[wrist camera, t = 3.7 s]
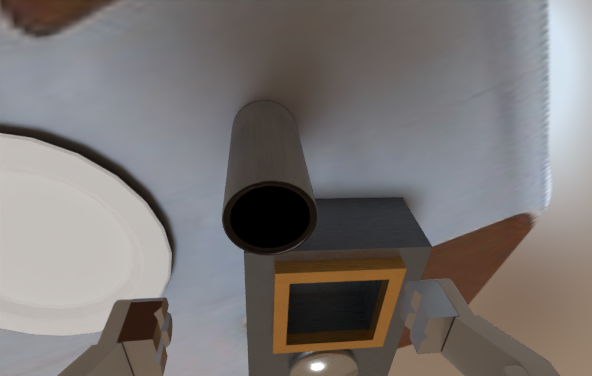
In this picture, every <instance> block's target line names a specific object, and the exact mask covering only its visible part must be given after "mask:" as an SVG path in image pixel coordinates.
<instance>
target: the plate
mask: <svg viewBox="0 0 592 376" xmlns="http://www.w3.org/2000/svg"><path fill="white" fill-rule="evenodd" d="M171 263H172V250H171V247H170V243H169V240H168V237H167V234H166V230H165V227H164V225H163V224H162V223H161V221H160V220H159V218H158V217H157V215H156V214H155V212H154V211H153V209H152V208H151V206H150V205H149V204H148V202H147V201H146V200H145V199H144V198H143V197H142V196H141V195H140V194H139V193H138V192H136V191H135V190H134V189H133V188H132V187H131V186H130V185H129V184H127V183H126V182H125V181H124V180H123V179H122V178H121V177H120V176H118V175H117V174H115V173H114V172H112V171H110V170H109V169H107V168H105V167H103V166H102V165H100V164H98V163H96V162H95V161H93V160H91V159H89V158H88V157H86V156H84V155H82V154H81V153H79V152H76V151H73V150H70V149H67V148H64V147H62V146H59V145H56V144H53V143H50V142H47V141H44V140H41V139H39V138H36V137H32V136H25V135H18V134H11V133H4V132H0V328H2V329H8V330H13V331H19V332H24V333H30V334H40V335H63V336H67V335H76V334H86V333H95V332H99V331H102V330H103V329H104V327H105V324H106V322H107V319H108V317H109V314H110V312H111V310H112V307H113V305H114V303H115V302H116V301H117V300H123V299H141V298H160V297H161V296H162V293H163V291H164V289H165V287H166V285H167V283H168V281H169V279H170V277H171Z"/></svg>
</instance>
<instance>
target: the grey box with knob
mask: <svg viewBox="0 0 592 376" xmlns="http://www.w3.org/2000/svg"><path fill="white" fill-rule="evenodd" d="M315 202H316V206H317V212H318V220H317V225H316V228H315V230H314V232H313V233H312V235H311V236H310V238H309V239H308V240H307V241H306V242H305V243H304V244H302V245H301V246H299V247H298V248H296V249H294V250H292V251H290V252H287V253H284V254H279V255H271V256H266V255H257V254H253V253H250V252H247V251H245V250H244V263H245V289H246V314H247V340H248V365H249V376H387V375H388V373H389V370H390V367H391V364H392V361H393V358H394V355H395V353H396V350H397V347H398V344H399V341H400V338H401V335H402V332H403V329H404V327H405V325H404V322H403V320H402V317H401V313H400V302H401V298H402V297H403V296H404V295H405V294H406V293H405V291H404V286H405V284H406V282H407V281H419V280H421V278H422V275H423V272H424V269H425V266H426V263H427V260H428V257H429V255H430V252H431V249H432V246H431V244H430V242H429V241H428V239H427V237H426V236H425V234H424V232H423V231H422V229H421V228H420V226H419V224H418V223H417V221H416V219H415V218H414V216H413V214H412V213H411V211H410V209H409V208H408V206H407V204H406V203H405V201H404V200H403V198H350V199H315Z"/></svg>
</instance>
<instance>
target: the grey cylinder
mask: <svg viewBox="0 0 592 376" xmlns="http://www.w3.org/2000/svg"><path fill="white" fill-rule="evenodd" d="M317 220H318V212H317V206H316V202H315V198H314V194H313V190H312V186H311V182H310V178H309V174H308V170H307V166H306V162H305V158H304V154H303V150H302V146H301V142H300V138H299V134H298V130H297V127H296V123H295V121H294V118H293V117H292V115H291V113H290V112H289V111H288V110H287V109H286V108H285V107H283V106H282V105H280V104H278V103H275V102H271V101H257V102H254V103H251V104H249V105H247V106H245V107H244V108H243V109H242V110H241V111H240V112H239V113H238V114H237V116H236V118H235V120H234V123H233V127H232V134H231V142H230V151H229V160H228V169H227V177H226V186H225V195H224V204H223V213H222V223H223V228H224V231H225V233H226V235H227V236H228V238H229V239H230V240H231V241H232V242H233V243H234V244H235V245H236V246H238V247H239V248H241V249H243V250H245V251H247V252H250V253H253V254H257V255H266V256H271V255H279V254H284V253H287V252H290V251H292V250H294V249H296V248H298V247H299V246H301V245H302V244H304V243H305V242H306V241H307V240H308V239H309V238H310V236H311V235H312V233H313V232H314V230H315V228H316V225H317Z"/></svg>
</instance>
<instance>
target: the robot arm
mask: <svg viewBox="0 0 592 376" xmlns="http://www.w3.org/2000/svg"><path fill="white" fill-rule="evenodd" d="M404 291H405V293H406V294H405V295H404V296H403V297H402V298H401V302H400V313H401V317H402V320H403V322H404V325H405V326H406V327H408V328H409V329H410V330H411V333H410V339H411V341H412V343H413V345H414V348H415V350H416V352H417V354H424V353H441V352H442V355H443V356H444V357H445V358H446V359H447V360H449V362H451V363H452V364H453V365H454V366H455V367H456V368H457V369H458V370H459V371H460V372H461V373H462V374H463V375H465V376H560V375H559V374H558V372H557V371H556V370H555V369H554V367H553V366H552V364H551V363H550V362H549V361H548V360H546V359H545V358H543V357H542V356H540V355H539V354H537V353H536V352H534V351H533V350H531V349H530V348H528V347H527V346H525V345H524V344H522V343H520V342H519V341H517V340H516V339H514V338H513V337H511V336H510V335H508V334H507V333H505V332H504V331H502V330H500V329H499V328H497V327H496V326H494V325H493V324H491V323H490V322H488V321H487V320H485V319H484V318H482V317H480V316H479V315H474V314H473V312H472V311H471V309H470V308H469V306H468V305H467V303H466V302H465V300H464V299H463V297H462V295H461V294H460V292H459V291H458V289H457V288H456V286H455V285H454V283H453V282H452V280H450V279H449V278H448V279H435V280H433V279H432V280H419V281H407V282H406V284H405V286H404ZM167 310H168V301H167V298H141V299H123V300H117V301H116V302H115V303H114V305H113V307H112V310H111V312H110V314H109V317H108V319H107V322H106V324H105V327H104V329H103V332H102V334H101V337H100V339H99V341H98V344H97V345H92V346H91V347H89V348H88V349H87V350H86V351H85V352H84V353H83V354H82V355H80V356H79V357H78V358H77V359H76V360H75V361H74V362H72V363H71V364H70V365H69V366H68V367H67V368H66V369H64V370H63V371H62V372H61V373H60V374H59V375H58V376H163V374H164V370H165V365H166V361H167V353H166V347H167V346H168V345H169V344H170V342H171V336H172V318H171V314H170V313H168V312H167Z"/></svg>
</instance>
